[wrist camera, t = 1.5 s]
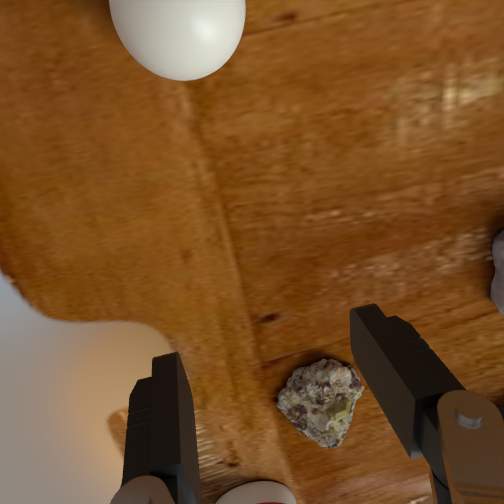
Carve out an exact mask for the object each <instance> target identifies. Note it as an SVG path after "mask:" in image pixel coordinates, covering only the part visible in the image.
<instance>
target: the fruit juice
mask: <svg viewBox="0 0 504 504" xmlns="http://www.w3.org/2000/svg"><path fill="white" fill-rule="evenodd" d="M215 504H297V503H296V500H295V498H294V496H293V494H292V492H291V491H290V490H289V489H288V488H287V487H286V486H284V485H282V484H280V483H277V482H272V481H257V482H251V483H247V484H244V485H241V486H238V487H236V488H234V489H232V490H230V491H228V492H227V493H225V494H224V495H223V496H221V497H220V498H219V499H218V500H217V502H216V503H215Z"/></svg>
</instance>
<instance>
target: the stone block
mask: <svg viewBox="0 0 504 504" xmlns="http://www.w3.org/2000/svg"><path fill="white" fill-rule="evenodd" d="M492 255H493V258H494V266H495V267H496V268H495V276H494V279H493V281H492V284H491V292H490V296H491V299H492V300H493V302H494V303H495V305H496V307H497V309H498V310H499V311H500V312H501V313H502V314H503V315H504V230H503V231H502V232H501V233H499V234H498V235H496V237H495V238H494V239H493V245H492Z"/></svg>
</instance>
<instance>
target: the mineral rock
mask: <svg viewBox="0 0 504 504" xmlns="http://www.w3.org/2000/svg"><path fill="white" fill-rule="evenodd" d="M364 388H365V387H364V386H362V384H360V378H359V376H358V375H357V373H356V371H355V370H354V367H352V366H350V365H348V366H347V367H346V366H342V363H340V362H339V361H337V360H333V359H329V360H328V361H327V360H326V359H322V361H319V362H317V363H316V362H315V363H313V364H312V365H311V366H306V367H300V368H298V369H296V370H295V371H294V372H293V375H292V377H290V378H289V379H288V381H287V382H286V384H285V387H284V388H283V389H282V391H280V392H279V396H278V399H279V400H278V403H277V404H276V405H277V407H278V408H279V409H280V410H281V411H282V413H283V414H284V415H285V418H286V419H288V420H289V421H290V422H291V425H293V427H294V428H296V429H297V430H299V431H300V432H301V433H302V434H305V437H306V436H308V437H309V438H311V440H315V441H316V442H317V443H318V444H319V446H322V447H329V449H330V448H332V447H338V446H339V445H340V444H341V443H342V440H343V439H345V438H346V431H347V430H348V427H349V426H350V424H351V421H352V414H353V409H354V407H355V406H354V405H355V403H356V400H357V399H359V398H360V397H361V395H362V393H363V391H364Z"/></svg>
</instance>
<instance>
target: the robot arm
mask: <svg viewBox="0 0 504 504" xmlns="http://www.w3.org/2000/svg"><path fill="white" fill-rule="evenodd" d="M350 338H351V350H352V354H353V357H354V360H355V362H356V365H357V366H358V368H359V370H360V372H361V373H362V375H363V377H364V379H365V380H366V382H367V384H368V386H369V387H370V389H371V391H372V393H373V394H374V396H375V398H376V399H377V401H378V403H379V405H380V406H381V408H382V410H383V412H384V413H385V415H386V417H387V419H388V420H389V422H390V424H391V426H392V427H393V429H394V431H395V433H396V434H397V436H398V438H399V439H400V441H401V443H402V445H403V446H404V448H405V450H406V452H407V453H408V455H409V457H410V459H411V458H415V457H418V456H422V455H423V456H424V457H425V459H426V461H427V462H428V464H429V465H430V470H429V477H430V483H431V488H432V494H433V500H434V504H504V406H498V405H494V404H493V403H492V402H491V401H490V400H488V399H487V398H485V397H484V396H482V395H480V394H477V393H475V392H471V391H467V390H466V389H465V388H464V387H463V386H462V385H461V384H460V382H459V381H458V380H457V379H456V378H455V376H454V375H453V374H452V373H451V372H450V370H449V369H448V368H447V367H446V366H445V364H444V363H443V362H442V361H441V360H440V359H439V357H438V356H437V355H436V354H435V353H434V351H433V350H432V349H430V347H429V345H428V344H427V343H426V342H425V341H424V339H422V338H421V336H420V335H419V333H418V332H417V331H416V330H415V329H414V327H413V326H412V325H411V324H409V323H408V322H406V321H404V320H403V319H401V318H399V317H398V316H396V315H395V316H391V317H386V316H385V315H384V313H383V312H382V311H381V310H380V308H379V307H378V306H377V305H376V304H374V303H373V304H369V305H365V306H361V307H357V308H353V309H351V310H350ZM128 413H129V415H128V420H127V431H126V443H125V454H124V465H123V478H122V484H121V487H120V489H119V491H118V492H117V493H116V494H115V496H114V497H113V499H112V501H111V503H110V504H202V500H201V488H200V476H199V464H198V452H197V440H196V427H195V415H194V405H193V398H192V393H191V389H190V386H189V383H188V380H187V376H186V373H185V370H184V367H183V364H182V361H181V358H180V355H179V353H178V352H174V353H170V354H166V355H162V356H158V357H154V358H153V359H152V377H148V378H144V379H140V380H138V381H137V383H136V385H135V387H134V389H133V390H132V392H131V394H130V398H129V409H128Z"/></svg>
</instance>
